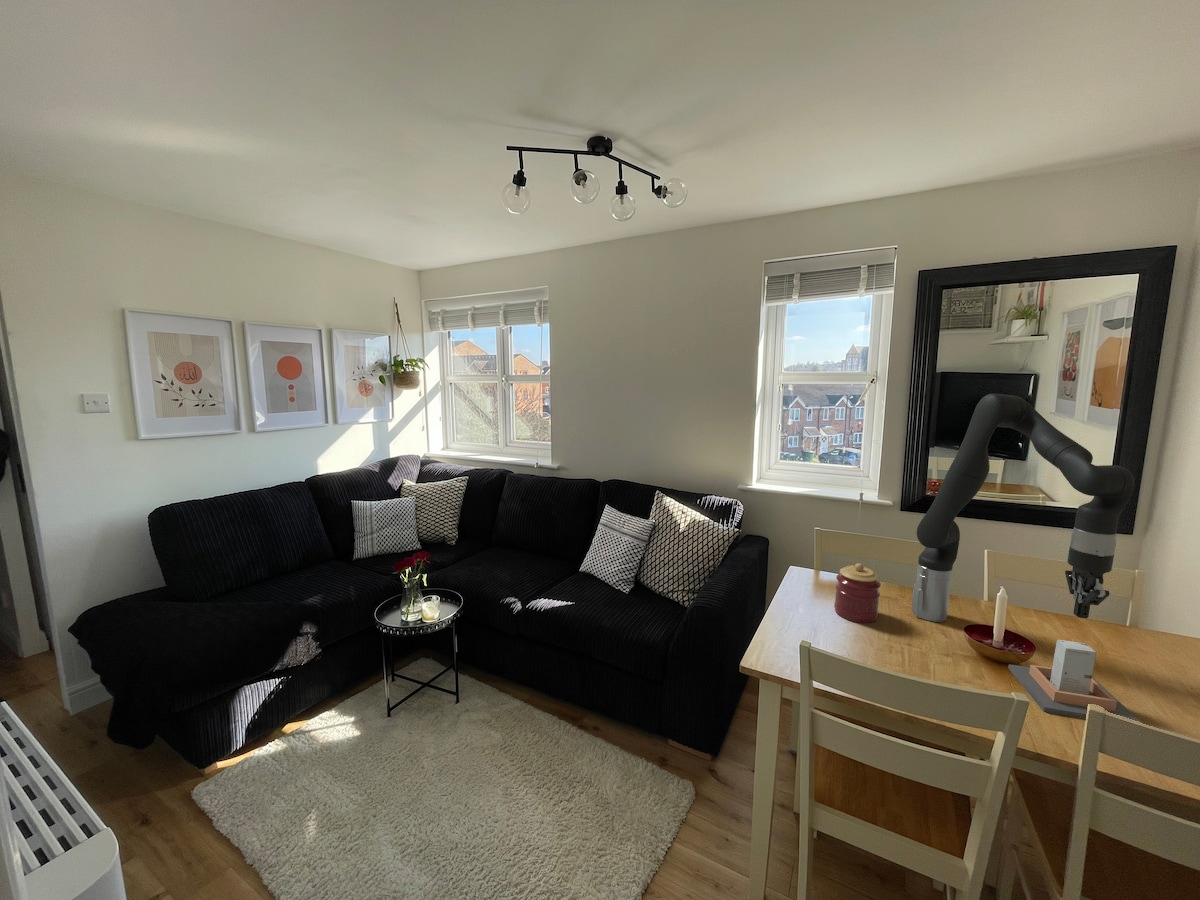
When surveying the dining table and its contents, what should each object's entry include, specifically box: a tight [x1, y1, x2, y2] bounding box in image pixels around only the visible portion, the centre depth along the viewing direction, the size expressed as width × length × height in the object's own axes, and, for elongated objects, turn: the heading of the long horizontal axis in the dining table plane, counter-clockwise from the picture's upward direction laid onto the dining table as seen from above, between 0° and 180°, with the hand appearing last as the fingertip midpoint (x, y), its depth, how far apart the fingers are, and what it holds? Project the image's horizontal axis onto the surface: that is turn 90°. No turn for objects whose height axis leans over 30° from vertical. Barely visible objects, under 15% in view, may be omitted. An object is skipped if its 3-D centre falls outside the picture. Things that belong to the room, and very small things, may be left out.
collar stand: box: [1007, 663, 1142, 722], centre depth 121 cm, size 18×18×4 cm
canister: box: [833, 562, 881, 624], centre depth 162 cm, size 13×13×18 cm
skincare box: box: [1050, 639, 1097, 695], centre depth 121 cm, size 6×4×12 cm
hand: (1080, 616), depth 119 cm, fingers closed
